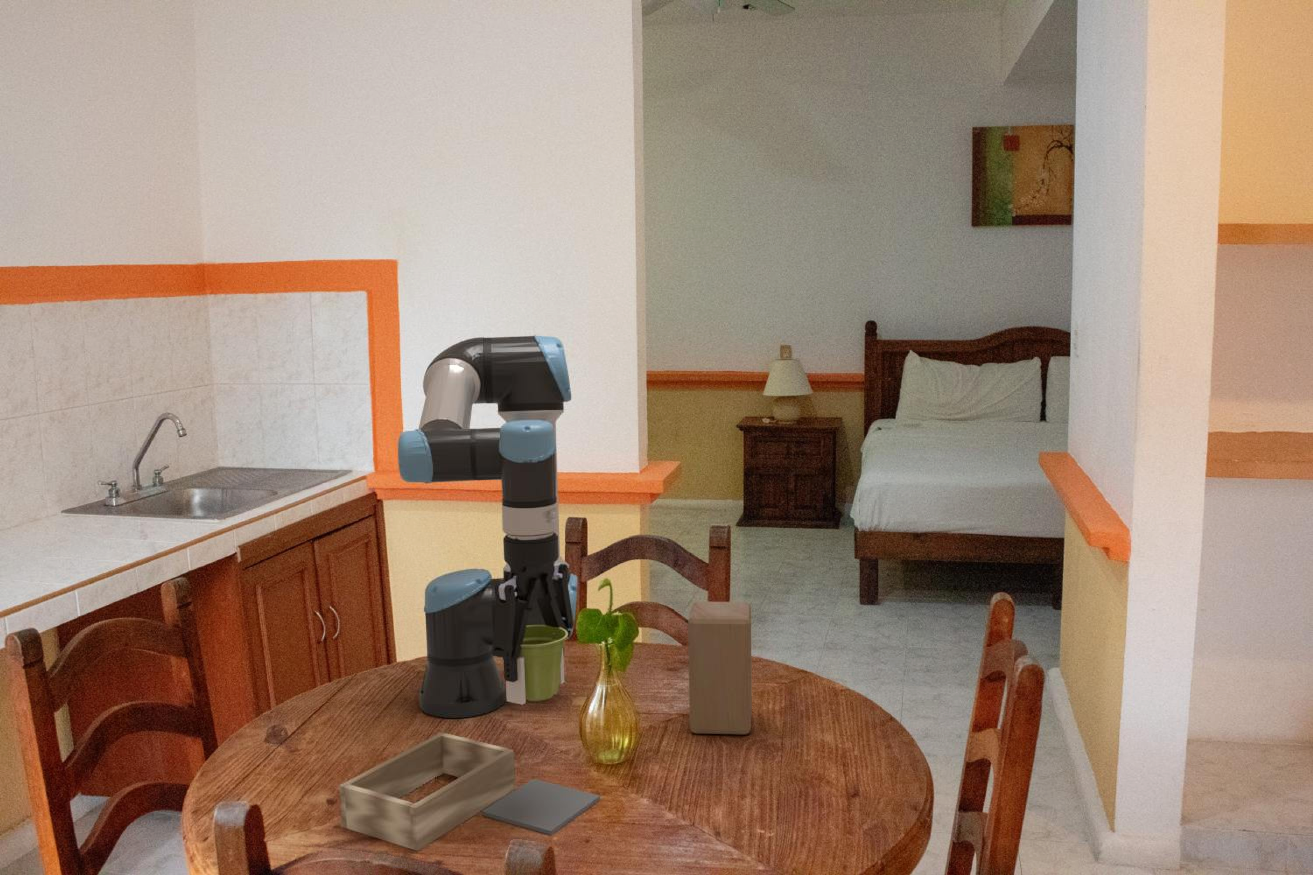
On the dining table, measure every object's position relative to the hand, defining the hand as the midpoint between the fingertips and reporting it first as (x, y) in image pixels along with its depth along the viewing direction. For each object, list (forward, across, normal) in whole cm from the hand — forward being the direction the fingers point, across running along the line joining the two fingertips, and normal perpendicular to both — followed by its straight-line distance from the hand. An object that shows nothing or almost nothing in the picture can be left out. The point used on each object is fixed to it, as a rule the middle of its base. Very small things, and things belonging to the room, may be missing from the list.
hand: (536, 691), depth 161 cm
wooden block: (+18, +39, -8) cm, 44 cm away
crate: (+17, -7, +14) cm, 23 cm away
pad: (+17, 0, 0) cm, 17 cm away
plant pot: (+1, 0, 0) cm, 1 cm away
